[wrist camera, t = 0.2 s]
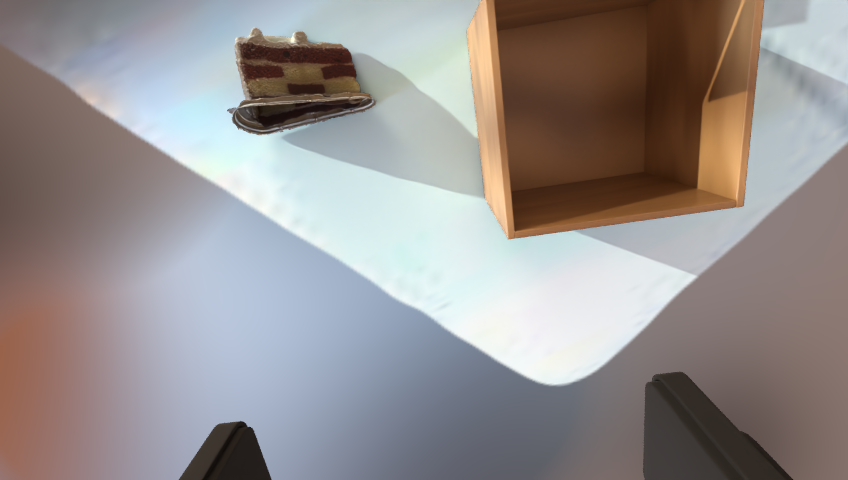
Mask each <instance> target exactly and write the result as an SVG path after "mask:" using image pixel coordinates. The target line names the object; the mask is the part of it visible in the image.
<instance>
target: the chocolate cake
mask: <svg viewBox="0 0 848 480" xmlns="http://www.w3.org/2000/svg"><path fill="white" fill-rule="evenodd" d="M235 54H236V59H237V61H236V63H237V66H238V70H239V73H240V77H241V82H242V88H243V92H244V95H245V99H246V100H243V101H242V102H241V103H240V105H239V107H237V108H232V109H228V110H227V111H229V113H232V114H233V117H232V121H233V123H234V124H235V125H236V126H237V128H238V129H243V130H244V131H246V132H248V133H253V134H257V135H262V134H264V135H265V134H267V135H268V134H271V133H276V132H283V130H284V129H289V130H290V129H293V128H296V127H300V126H303V125H307V124H314V123H316V122H320V121H326V120H328V119H331V118H335V117H338V116H339V117H341V116H345V115H349V114H355V113H358V112H363V111H365V110H367V109H370V108H372V107H374V106H375V105H376V103H377V102H376V100H373V99H372V98H371V96H370V94H366V93H360V85H359V84H358V83H357V81H356V71H355V68H354V65H353V63H352V58H351V54H350V52H349V51H348V49H346V48H344V47H343V46H342V45H341V44H335V43H326V42H320V43H318V44H314V43H309V42H308V41H307V36H306V34H305V33H304V32H300V31H296V32H294V34H293V37H292V38H288V37H275V36H263V35H262V32H261V31H260V30H259V29H258V28H253V29H252V30H251V32H250V35H249V36H248V37H238V38H236V40H235Z"/></svg>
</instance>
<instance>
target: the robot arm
mask: <svg viewBox="0 0 848 480" xmlns="http://www.w3.org/2000/svg"><path fill="white" fill-rule="evenodd" d="M644 422H645V423H644V459H643V473H644V478H645V480H793V479H792V478H791V477H790V476H789V475H788V474H787V473H786V472H785V471H784V470H783V469H782V468H781V467H780V466H779V465H778V464H777V462H776V461H775V460H773V458H772V457H771V456H770V455H769V454H768V453H767V452H766V451H765V450H764V449H763V448H762V447H761V446H760V445H759V444H758V443H757V442H756V441H755V440H754V439H753V438H751V437H750V436H749V435H748V434H746V433H744V432H742V431H739V430H738V429H737V428H736V427H735V426H734V425H733V424H732V423H731V422H730V420H729V419H728V418H727V417H726V416H725V415H724V414H723V413H722V412H721V411H720V410H719V409H718V408H717V407H716V406H715V405H714V404H713V402H711V401H710V399H709V398H708V397H707V396H706V395H705V394H704V393H703V392H702V391H701V390H700V389H699V388H698V387H697V386H696V385H695V383H694V382H693V381H692V380H691V379H690V378H689V377H688V376H687V375H686V374H684V373H683V372H674V373H666V374H656V375H654V376H653V378H652V382H648V383H646V387H645V421H644ZM179 480H271V477H270V474H269V472H268V469H267V466H266V463H265V460H264V458H263V455H262V452H261V449H260V447H259V444H258V441H257V438H256V436H255V433H254V430H253V429H252V428H251V427H247V425H246V423H244V422H242V421H240V422H231V423H222V424H218V425H217V426H216V427H215V428H214V429H213V430H212V432H211V433H210V435H209V436H208V438H207V439H206V441H205V442H204V443H203V445H202V446H201V448H200V449H199V451H198V452H197V454H196V456H195V457H194V458H193V460H192V461H191V463H190V464H189V466H188V467H187V469H186V470H185V472H184V473H183V475H182V476H181V477H180V479H179Z"/></svg>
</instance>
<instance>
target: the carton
mask: <svg viewBox="0 0 848 480" xmlns="http://www.w3.org/2000/svg"><path fill="white" fill-rule="evenodd" d="M763 8H764V0H481V1H480V4H479V6H478V8H477V10H476V12H475V14H474V16H473V19H472V21H471V23H470V25H469V27H468V29H467V40H468V49H469V58H470V67H471V76H472V85H473V95H474V104H475V113H476V122H477V131H478V140H479V149H480V158H481V167H482V177H483V186H484V195H485V200H486V201H487V203H488V205H489V207H490V208H491V210H492V212H493V214H494V215H495V217H496V219H497V221H498V222H499V224H500V226H501V228H502V229H503V231H504V233H505V234H506V236H507V238H508V239H514V238H522V237H529V236H536V235H543V234H550V233H557V232H564V231H571V230H579V229H586V228H593V227H600V226H607V225H614V224H621V223H628V222H635V221H643V220H650V219H657V218H664V217H671V216H678V215H685V214H692V213H700V212H707V211H714V210H721V209H728V208H735V207H742V206H744V196H745V186H746V177H747V167H748V157H749V147H750V137H751V127H752V117H753V107H754V97H755V87H756V77H757V67H758V57H759V48H760V38H761V28H762V18H763Z"/></svg>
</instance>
